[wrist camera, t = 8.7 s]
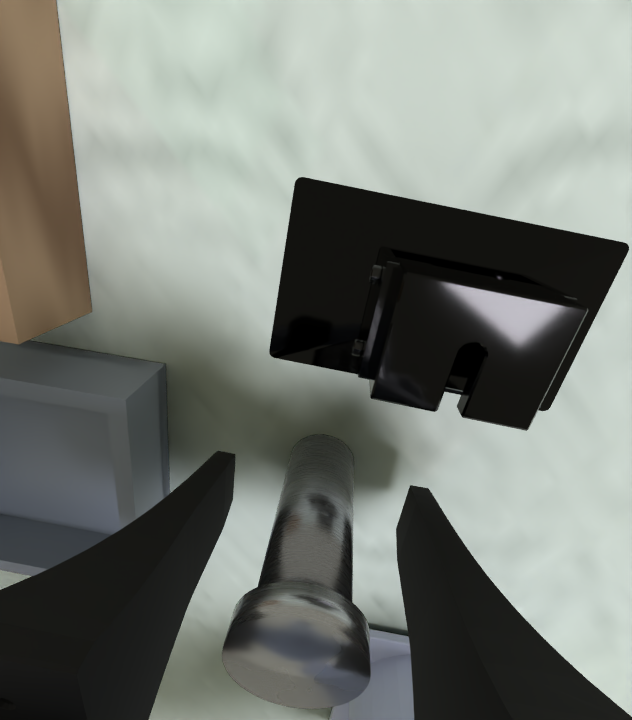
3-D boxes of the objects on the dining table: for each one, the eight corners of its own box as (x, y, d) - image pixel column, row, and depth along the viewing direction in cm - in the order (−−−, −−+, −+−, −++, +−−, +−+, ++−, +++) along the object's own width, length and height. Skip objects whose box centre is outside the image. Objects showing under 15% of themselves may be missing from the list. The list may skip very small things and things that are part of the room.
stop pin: (355, 500, 15) (355, 720, 9) (276, 485, 15) (219, 693, 9) (372, 433, 13) (385, 638, 7) (284, 418, 14) (224, 606, 7)
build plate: (232, 358, 14) (175, 432, 9) (254, 127, 11) (183, 82, 6) (573, 430, 13) (674, 541, 9) (696, 213, 10) (933, 225, 6)
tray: (171, 542, 17) (142, 597, 15) (-20, 507, 17) (-77, 554, 15) (165, 363, 13) (125, 399, 11) (-79, 322, 13) (-167, 348, 11)
